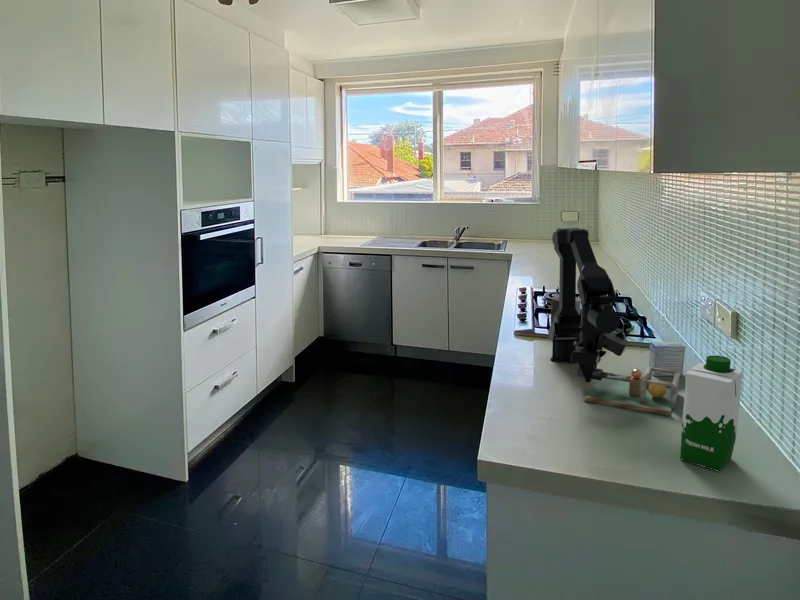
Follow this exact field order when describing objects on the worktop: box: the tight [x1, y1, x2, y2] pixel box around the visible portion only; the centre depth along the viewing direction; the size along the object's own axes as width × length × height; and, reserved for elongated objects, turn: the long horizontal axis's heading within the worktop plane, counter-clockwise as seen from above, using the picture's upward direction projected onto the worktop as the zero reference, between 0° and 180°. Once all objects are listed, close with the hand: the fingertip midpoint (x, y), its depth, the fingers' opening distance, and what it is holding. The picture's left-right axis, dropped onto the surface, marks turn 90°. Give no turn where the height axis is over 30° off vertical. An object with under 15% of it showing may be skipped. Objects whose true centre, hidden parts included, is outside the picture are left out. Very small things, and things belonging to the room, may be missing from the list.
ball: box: [649, 384, 666, 398], centre depth 136 cm, size 4×4×4 cm
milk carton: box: [679, 355, 744, 472], centre depth 105 cm, size 9×9×20 cm
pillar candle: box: [550, 295, 582, 325], centre depth 189 cm, size 10×10×15 cm
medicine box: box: [648, 341, 686, 377], centre depth 153 cm, size 8×4×9 cm, turn 84°
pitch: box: [584, 366, 681, 417], centre depth 139 cm, size 20×20×6 cm
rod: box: [576, 365, 643, 396], centre depth 142 cm, size 15×4×6 cm, turn 59°
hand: (589, 380), depth 144 cm, fingers closed on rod, 3 cm apart
